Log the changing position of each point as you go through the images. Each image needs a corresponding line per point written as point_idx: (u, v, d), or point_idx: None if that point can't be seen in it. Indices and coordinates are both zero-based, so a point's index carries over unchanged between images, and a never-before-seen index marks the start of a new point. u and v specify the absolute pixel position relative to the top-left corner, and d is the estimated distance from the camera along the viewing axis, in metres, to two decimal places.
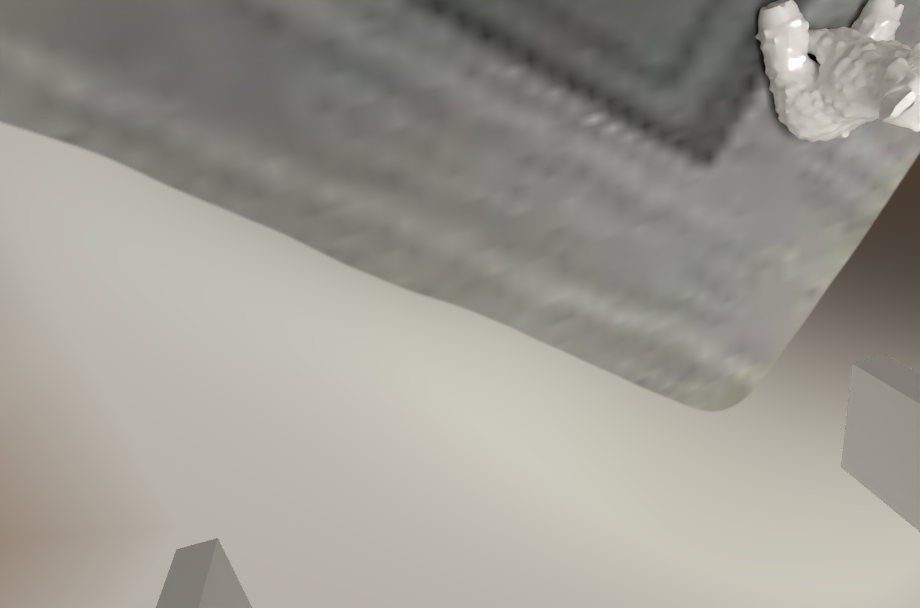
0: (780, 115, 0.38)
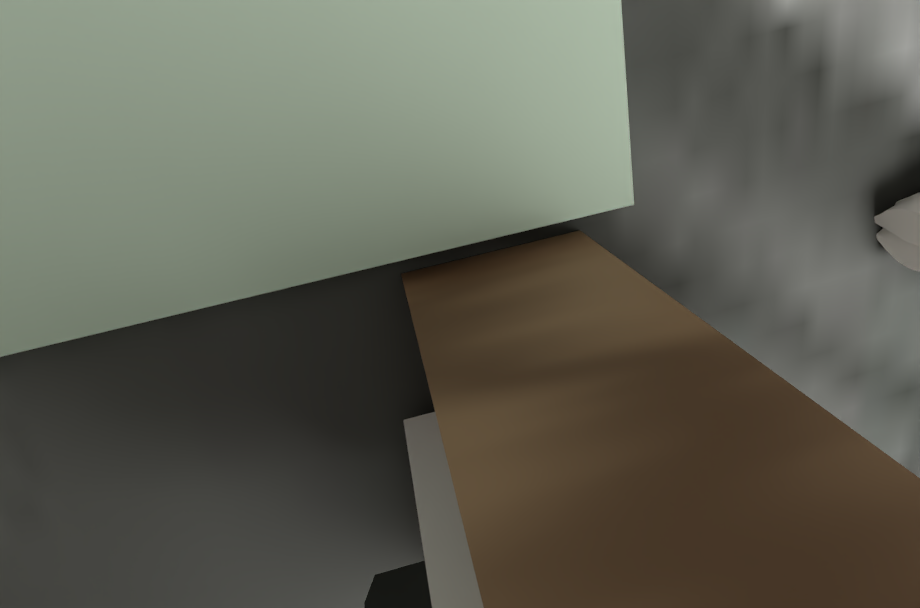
0: None
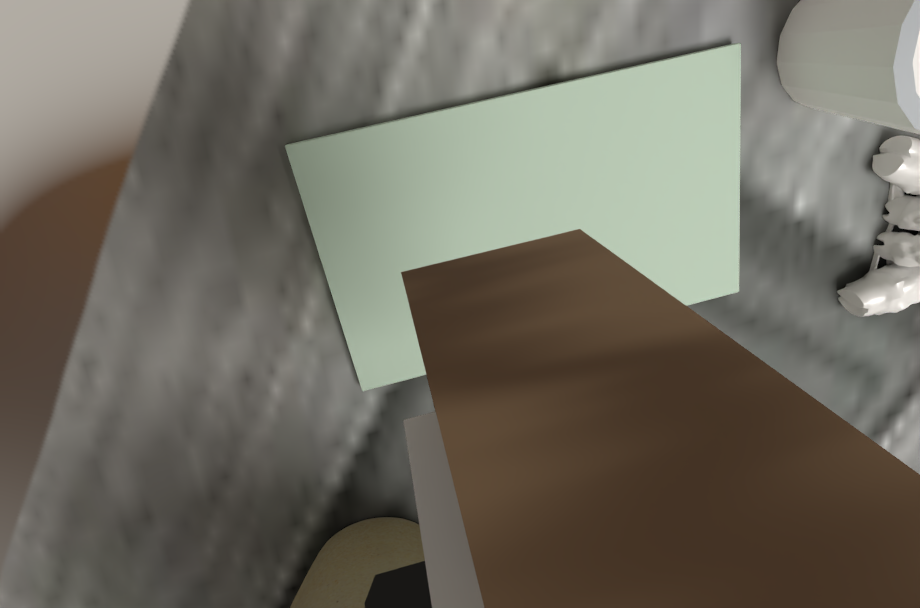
0: None
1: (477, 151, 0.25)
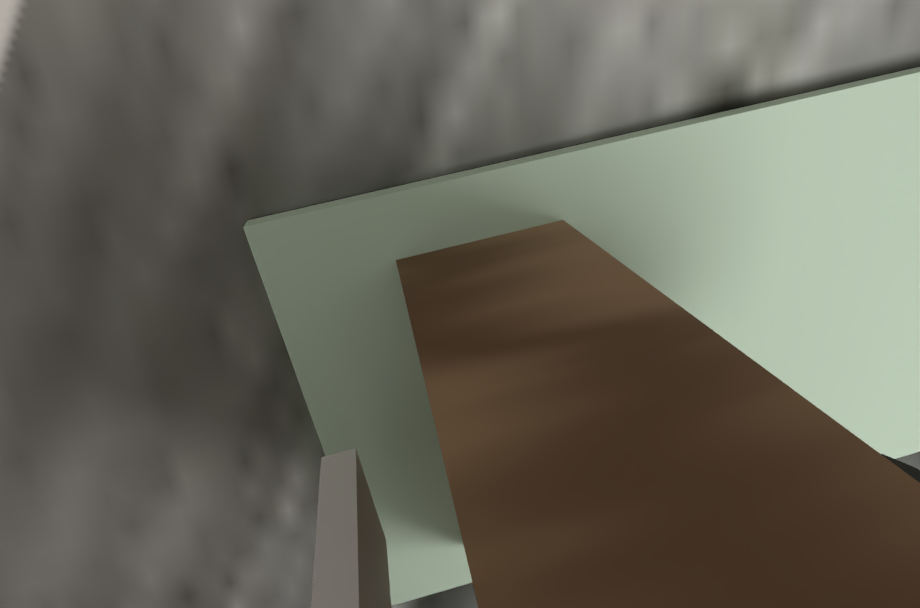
0: None
1: (596, 229, 0.14)
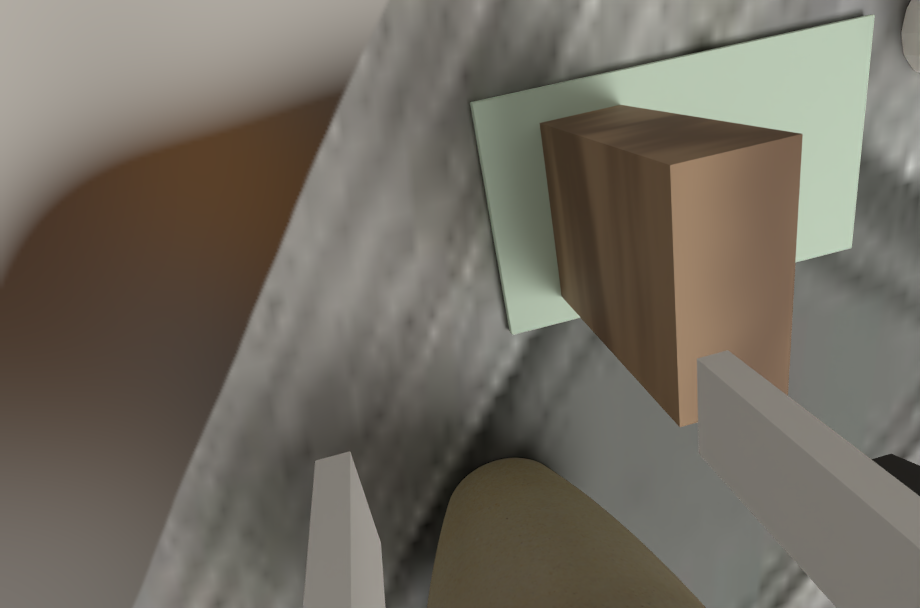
0: None
1: None
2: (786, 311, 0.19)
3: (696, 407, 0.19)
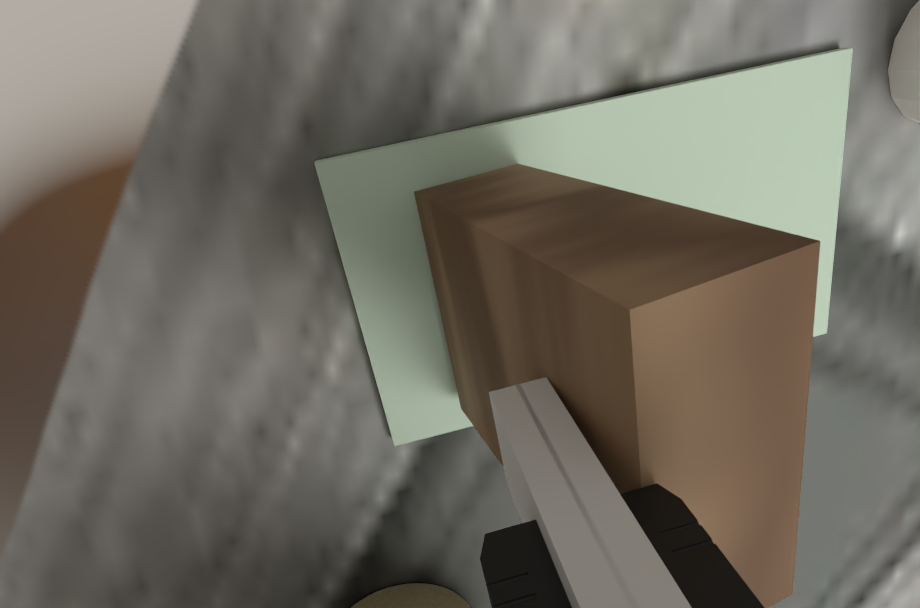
0: None
1: None
2: (793, 488, 0.12)
3: None
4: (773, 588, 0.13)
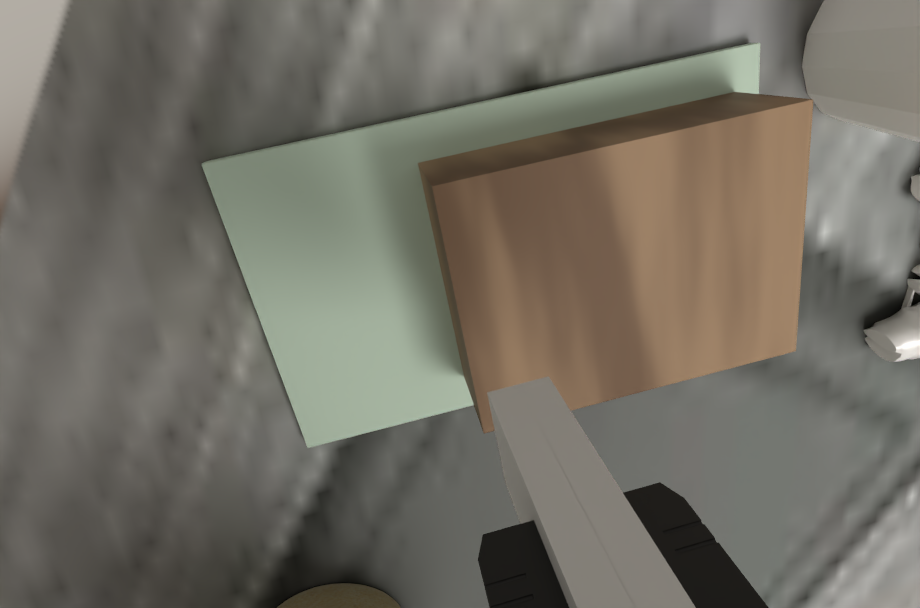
0: None
1: None
2: None
3: None
4: None
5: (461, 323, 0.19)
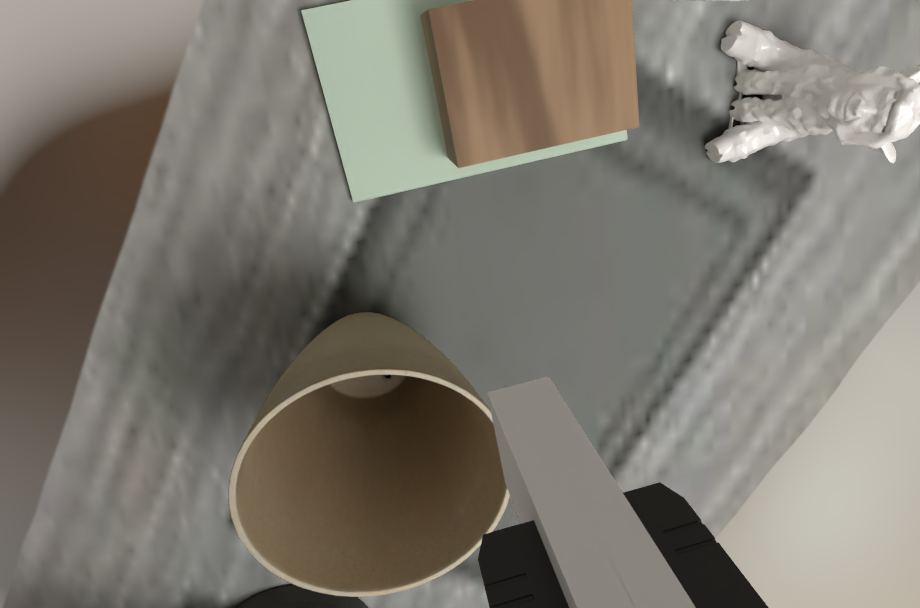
0: None
1: None
2: None
3: None
4: None
5: (444, 93, 0.34)
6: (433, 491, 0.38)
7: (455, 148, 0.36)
